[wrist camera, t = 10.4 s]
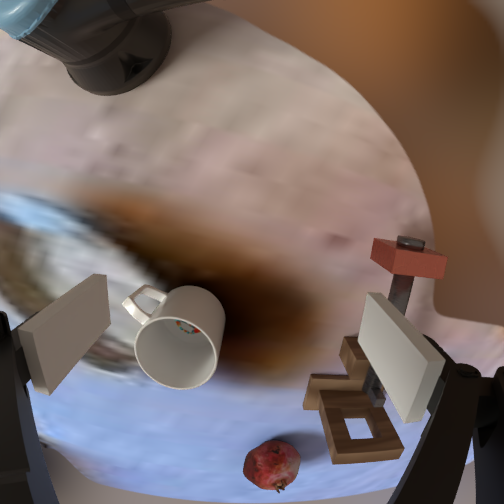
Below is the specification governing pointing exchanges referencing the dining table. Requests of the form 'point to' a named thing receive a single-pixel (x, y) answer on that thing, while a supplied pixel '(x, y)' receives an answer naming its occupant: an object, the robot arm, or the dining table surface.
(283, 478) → the fruit
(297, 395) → the dining table surface
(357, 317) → the dining table surface
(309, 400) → the wooden square frame
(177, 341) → the mug
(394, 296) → the hook rod
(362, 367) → the saddle block
